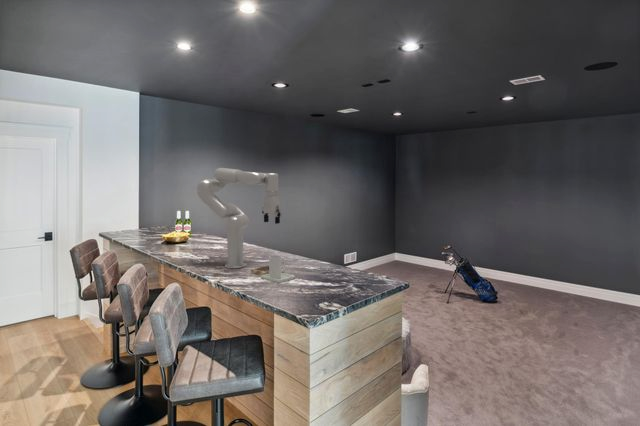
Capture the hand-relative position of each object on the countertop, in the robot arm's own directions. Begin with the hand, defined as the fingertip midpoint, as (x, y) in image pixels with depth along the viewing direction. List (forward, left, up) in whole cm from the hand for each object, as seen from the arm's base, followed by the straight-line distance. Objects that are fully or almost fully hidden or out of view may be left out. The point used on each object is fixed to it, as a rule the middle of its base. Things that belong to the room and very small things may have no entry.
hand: (271, 222), depth 222 cm
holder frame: (+4, -7, -28) cm, 29 cm away
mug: (+18, -12, -28) cm, 35 cm away
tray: (+18, -12, -28) cm, 36 cm away
